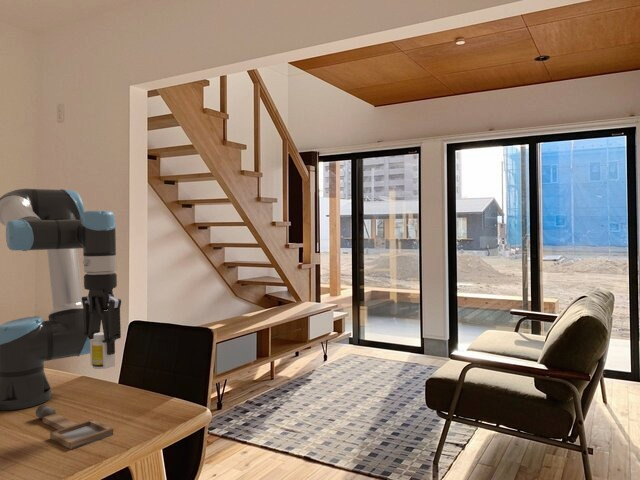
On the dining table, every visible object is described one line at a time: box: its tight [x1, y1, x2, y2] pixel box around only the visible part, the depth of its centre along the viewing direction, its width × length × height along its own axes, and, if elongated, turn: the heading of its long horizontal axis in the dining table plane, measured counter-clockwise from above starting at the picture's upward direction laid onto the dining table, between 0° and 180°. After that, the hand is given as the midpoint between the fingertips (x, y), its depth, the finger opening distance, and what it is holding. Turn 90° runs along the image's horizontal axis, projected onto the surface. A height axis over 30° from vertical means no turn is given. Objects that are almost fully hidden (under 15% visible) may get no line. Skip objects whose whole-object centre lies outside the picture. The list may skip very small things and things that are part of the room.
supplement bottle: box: [91, 331, 105, 370], centre depth 125 cm, size 5×5×8 cm
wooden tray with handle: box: [35, 404, 114, 450], centre depth 123 cm, size 26×10×3 cm, turn 53°
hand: (102, 365), depth 125 cm, fingers closed on supplement bottle, 5 cm apart
